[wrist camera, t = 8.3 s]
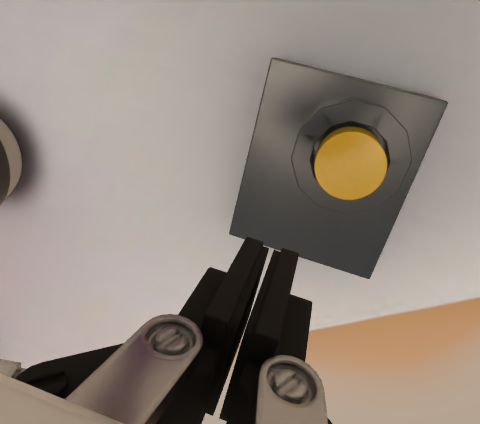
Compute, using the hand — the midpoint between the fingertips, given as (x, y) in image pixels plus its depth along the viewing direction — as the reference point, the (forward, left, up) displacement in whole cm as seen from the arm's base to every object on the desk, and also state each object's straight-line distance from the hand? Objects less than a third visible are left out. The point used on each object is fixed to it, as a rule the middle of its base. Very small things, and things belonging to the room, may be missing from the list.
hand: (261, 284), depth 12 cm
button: (-2, +2, -14) cm, 14 cm away
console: (0, +2, -18) cm, 18 cm away
